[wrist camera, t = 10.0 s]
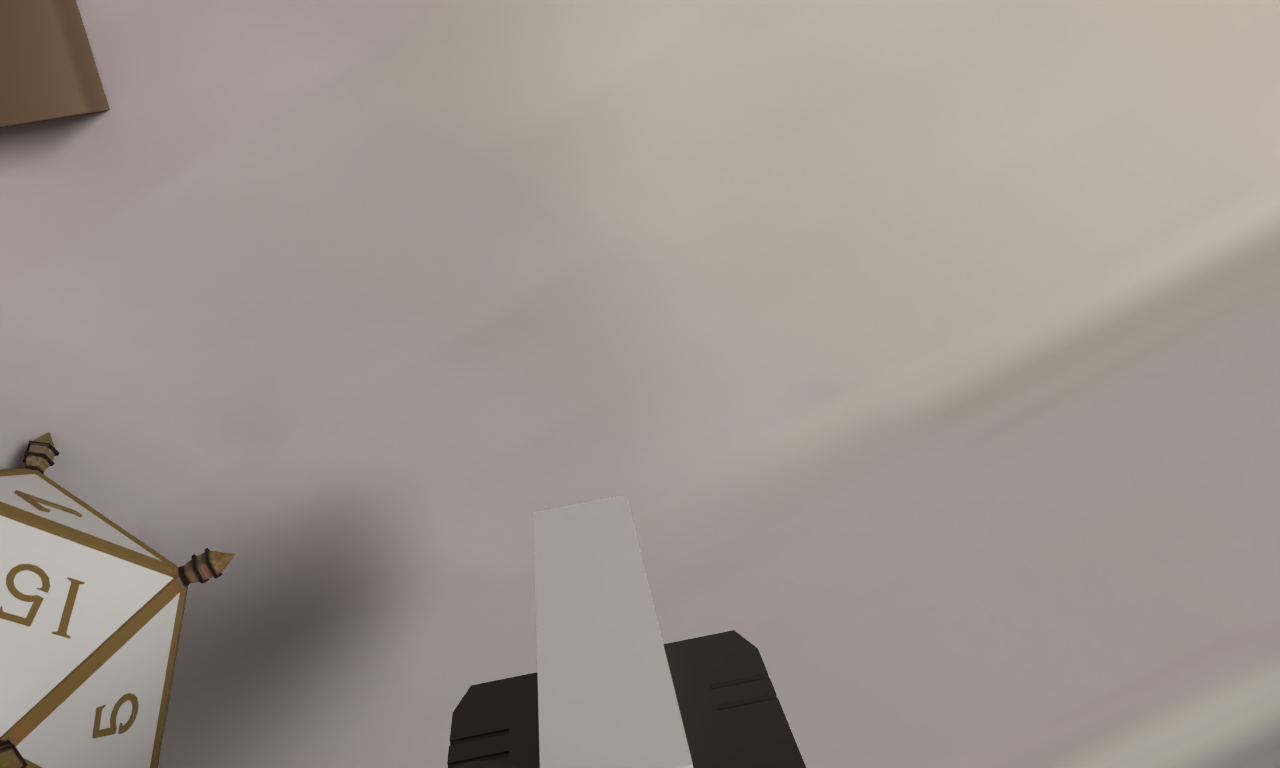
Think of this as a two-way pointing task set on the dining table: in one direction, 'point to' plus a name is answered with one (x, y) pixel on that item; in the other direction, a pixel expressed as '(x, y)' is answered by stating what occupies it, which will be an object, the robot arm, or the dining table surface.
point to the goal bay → (45, 63)
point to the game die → (83, 628)
